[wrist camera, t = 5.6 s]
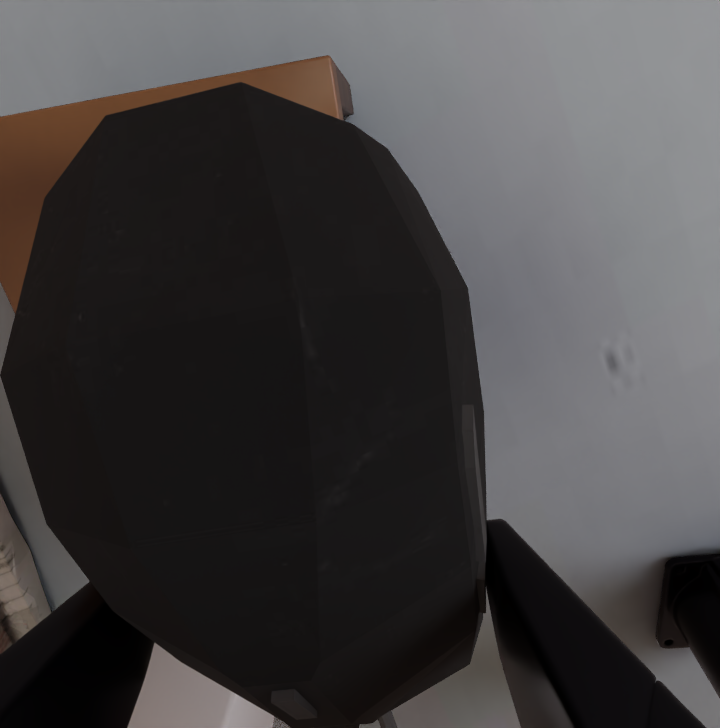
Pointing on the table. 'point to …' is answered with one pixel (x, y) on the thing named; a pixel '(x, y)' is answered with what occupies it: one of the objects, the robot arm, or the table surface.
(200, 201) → the gaming mouse
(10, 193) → the walnut wood stand
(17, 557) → the packaged product
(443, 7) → the table surface
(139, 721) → the medicine bottle
